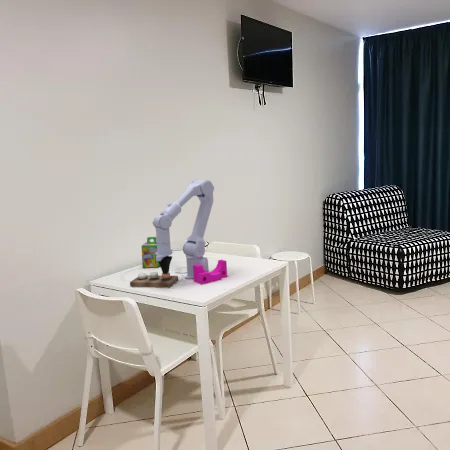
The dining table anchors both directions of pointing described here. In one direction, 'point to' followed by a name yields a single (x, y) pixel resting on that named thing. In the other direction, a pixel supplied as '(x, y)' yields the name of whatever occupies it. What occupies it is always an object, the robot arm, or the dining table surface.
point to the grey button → (142, 276)
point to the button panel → (154, 282)
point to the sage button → (153, 274)
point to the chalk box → (150, 254)
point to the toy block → (210, 273)
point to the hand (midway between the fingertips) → (165, 273)
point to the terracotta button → (165, 275)
